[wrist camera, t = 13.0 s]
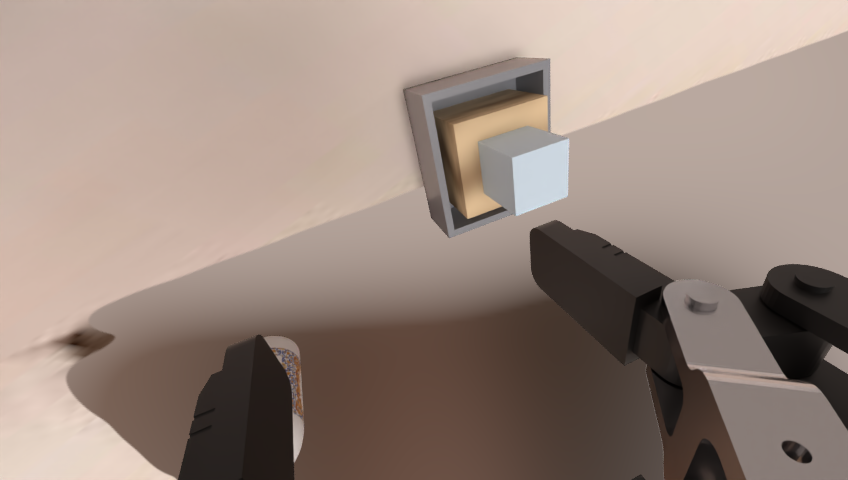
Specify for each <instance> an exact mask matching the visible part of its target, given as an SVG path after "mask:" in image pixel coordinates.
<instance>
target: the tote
mask: <svg viewBox="0 0 848 480" xmlns="http://www.w3.org/2000/svg"><path fill="white" fill-rule="evenodd" d="M507 89H511V90H517V91H523V92H529V93H535V94H540V95H546V96H548V132H550V59H544V58H514V59H510V60H507V61H503V62H500V63H496V64H492V65H489V66H485V67H482V68H478V69H475V70H471V71H467V72H464V73H460V74H457V75H453V76H450V77H446V78H442V79H439V80H435V81H432V82H428V83H425V84H421V85H417V86H414V87H410V88H407V89H403V90H404V95H405V100H406V104H407V109H408V113H409V118H410V122H411V127H412V132H413V136H414V141H415V145H416V150H417V155H418V159H419V164H420V168H421V173H422V178H423V182H424V187H425V191H426V196H427V200H428V205H429V210H430V214H431V218H432V219H433V220H434V221H435V223H436V224H437V225H438V226H439V227H440V228H441V229H442V231H443V232H444V233H445V234H446V235H447V236H448V237H449V238H451V237H454V236H456V235H459V234H462V233H464V232H467V231H470V230H472V229H475V228H478V227H480V226H483V225H486V224H488V223H490V222H494V221H496V220H499V219H502V218H504V217H507V216H510V215H512V213H511V212H509V211H508V210H507V209H505V208H504V207H499V208H496V209H494V210H491V211H488V212H486V213H483V214H480V215H477V216H475V217H472V218H469V219H467V218H466V217H465V216H464V215H463V214H462V213H461V212H460V211H458V210H457V209H456V208H455V207H454V206H453V205H452V204H451V203H450V202H449V197H448V191H447V186H446V180H445V175H444V169H443V163H442V158H441V152H440V147H439V141H438V136H437V130H436V125H435V119H434V114H433V111H436V110H440V109H443V108H446V107H450V106H453V105H456V104H460V103H463V102H466V101H470V100H473V99H477V98H480V97H483V96H487V95H490V94H493V93H497V92H500V91H503V90H507Z"/></svg>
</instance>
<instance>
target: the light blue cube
mask: <svg viewBox="0 0 848 480" xmlns="http://www.w3.org/2000/svg"><path fill="white" fill-rule="evenodd" d="M478 148H479V156H480V165H481V173H482V181H483V190H484V194H486V195H487V196H488V197H490V198H491V199H493V200H494V201H495V202H497V203H498V204H500V205H501V206H502V207H504V208H505V209H507V210H508V211H509V212H511V213H512V214H514V215H515V216H518V215H520V214H523V213H526V212H528V211H531V210H533V209H536V208H539V207H542V206H544V205H547V204H549V203H552V202H555V201H557V200H560V199H563V198H565V197H567V196H568V164H569V163H568V162H569V138H566V137H563V136H560V135H557V134H553V133H550V132H547V131H544V130H541V129H537V128H534V127H531V126H525V127H522V128H518V129H515V130H512V131H509V132H506V133H503V134H500V135H497V136H494V137H491V138H488V139H485V140H482V141H478Z"/></svg>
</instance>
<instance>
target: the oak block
mask: <svg viewBox="0 0 848 480" xmlns="http://www.w3.org/2000/svg"><path fill="white" fill-rule="evenodd" d="M433 114H434V119H435V125H436V130H437V136H438V141H439V147H440V152H441V158H442V163H443V169H444V175H445V180H446V186H447V191H448V197H449V202H450V203H451V204H452V205H453V206H454V207H455V208H456V209H457V210H458V211H460V212H461V213H462V214H463V215H464V216H465V217H466V218H467V219H469V218H472V217H475V216H477V215H480V214H483V213H486V212H488V211H491V210H494V209H496V208H499V207H502V206H501V205H500V204H498V203H497V202H495V201H494V200H493V199H491V198H490V197H488V196H487V195H486V194H484V190H483V181H482V173H481V165H480V156H479V148H478V141H482V140H485V139H488V138H491V137H494V136H497V135H500V134H503V133H506V132H509V131H512V130H515V129H518V128H522V127H525V126H531V127H534V128H537V129H541V130H544V131H547V132H548V96H546V95H540V94H535V93H529V92H523V91H517V90H511V89H507V90H503V91H500V92H497V93H493V94H490V95H487V96H483V97H480V98H477V99H473V100H470V101H466V102H463V103H460V104H456V105H453V106H450V107H446V108H443V109H440V110H436V111H433Z"/></svg>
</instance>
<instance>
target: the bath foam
mask: <svg viewBox="0 0 848 480" xmlns="http://www.w3.org/2000/svg"><path fill="white" fill-rule="evenodd" d="M263 338H264V339H265V340H266V342H267V343H268V345H269V346H270V348H271V349H272V351H273V352H274V354H275V355H276V357H277V359H278V360H279V362H280V363H281V365H282V366H283V368H284V369H285V371H286V373H287V375H288V377H289V380H290V384H291V389H292V408H293V446H294V462H295V460H296V458H297V456H298V454H299V451H300V449H301V445H302V441H303V434H304V417H303V399H302V383H301V365H300V352H299V348H298V346H297V345H296V343H295V342H294V341H292V340H291V339H289V338H287V337H283V336H266V337H263Z"/></svg>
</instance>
